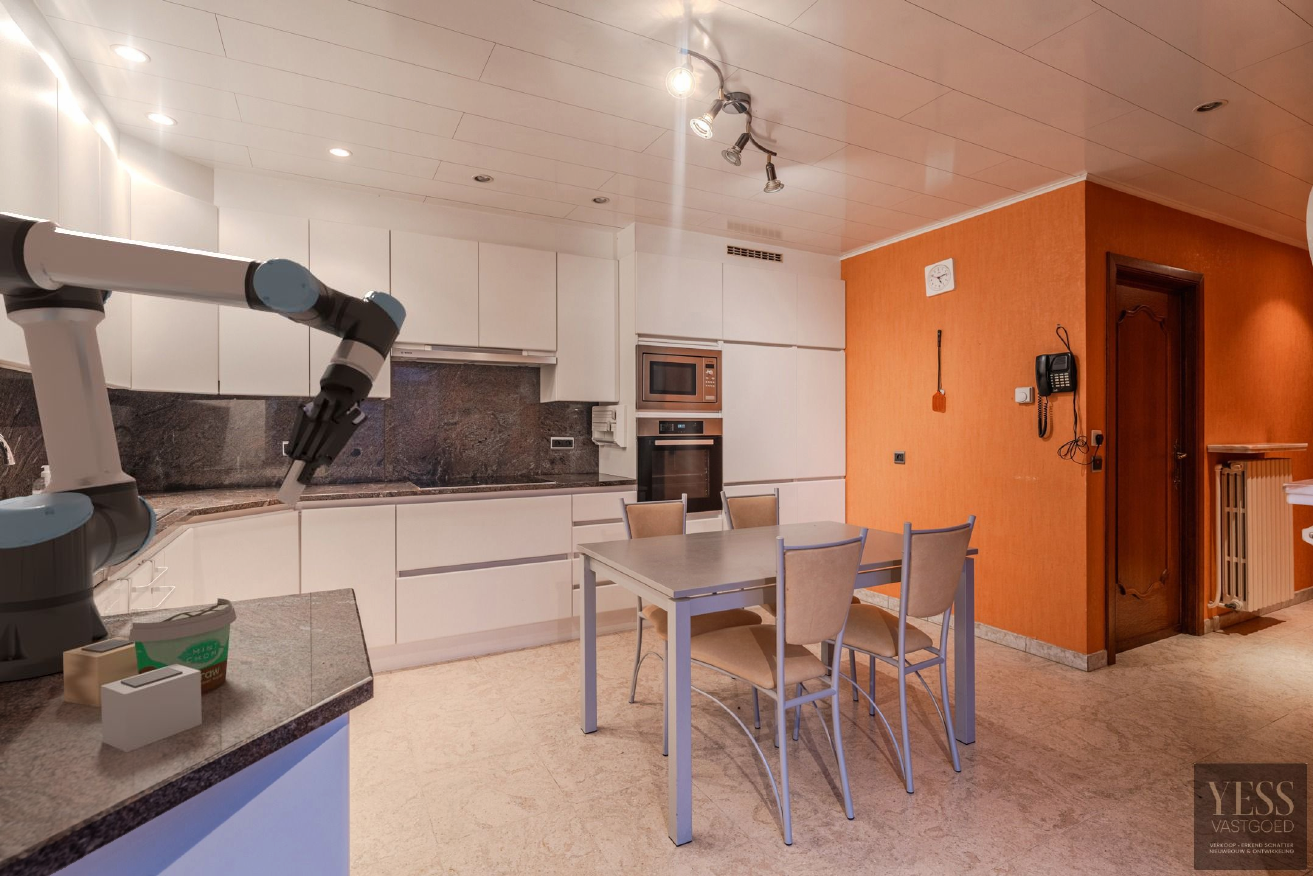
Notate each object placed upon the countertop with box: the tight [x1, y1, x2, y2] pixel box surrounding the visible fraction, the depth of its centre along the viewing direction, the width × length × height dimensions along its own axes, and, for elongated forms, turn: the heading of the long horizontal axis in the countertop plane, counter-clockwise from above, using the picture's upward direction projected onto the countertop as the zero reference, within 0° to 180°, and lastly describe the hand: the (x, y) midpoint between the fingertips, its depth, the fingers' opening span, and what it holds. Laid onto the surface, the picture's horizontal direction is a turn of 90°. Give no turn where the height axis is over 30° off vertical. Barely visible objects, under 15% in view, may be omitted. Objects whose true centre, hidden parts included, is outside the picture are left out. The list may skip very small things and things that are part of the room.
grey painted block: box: [101, 664, 203, 753], centre depth 69 cm, size 5×7×6 cm
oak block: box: [63, 636, 139, 708], centre depth 80 cm, size 6×6×6 cm
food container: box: [128, 597, 238, 696], centre depth 81 cm, size 12×6×10 cm, turn 166°
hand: (285, 502), depth 98 cm, fingers closed
